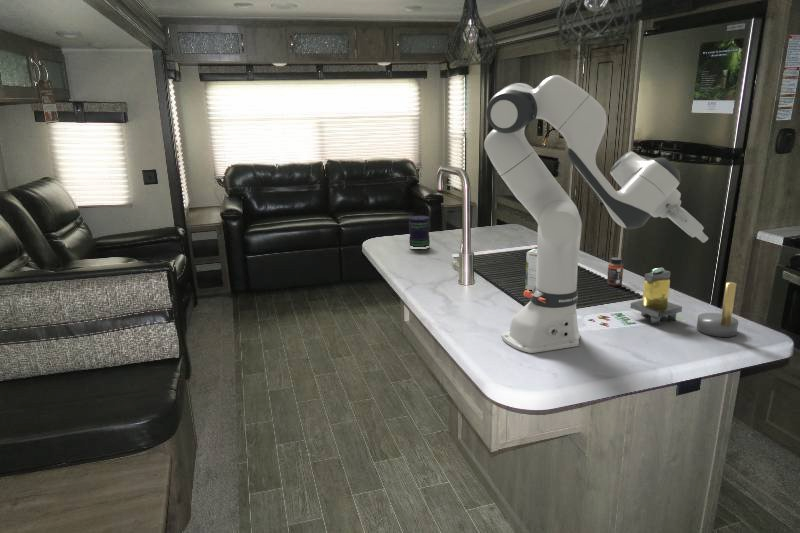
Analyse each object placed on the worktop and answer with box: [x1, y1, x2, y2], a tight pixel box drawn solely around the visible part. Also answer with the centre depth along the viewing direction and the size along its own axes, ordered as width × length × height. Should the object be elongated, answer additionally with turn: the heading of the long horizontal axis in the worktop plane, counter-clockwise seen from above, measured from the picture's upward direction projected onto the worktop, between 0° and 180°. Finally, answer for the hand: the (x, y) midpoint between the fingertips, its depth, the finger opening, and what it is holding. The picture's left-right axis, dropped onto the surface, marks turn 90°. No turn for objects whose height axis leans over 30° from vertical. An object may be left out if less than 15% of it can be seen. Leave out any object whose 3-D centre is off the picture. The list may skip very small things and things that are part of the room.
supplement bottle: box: [606, 256, 624, 287], centre depth 197 cm, size 5×5×10 cm
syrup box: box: [524, 248, 537, 292], centre depth 194 cm, size 6×6×14 cm
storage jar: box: [408, 215, 431, 247], centre depth 260 cm, size 10×10×15 cm
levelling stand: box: [630, 267, 683, 327], centre depth 163 cm, size 10×10×16 cm
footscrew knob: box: [696, 281, 739, 338], centre depth 153 cm, size 10×10×15 cm
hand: (698, 235), depth 144 cm, fingers open, 8 cm apart
